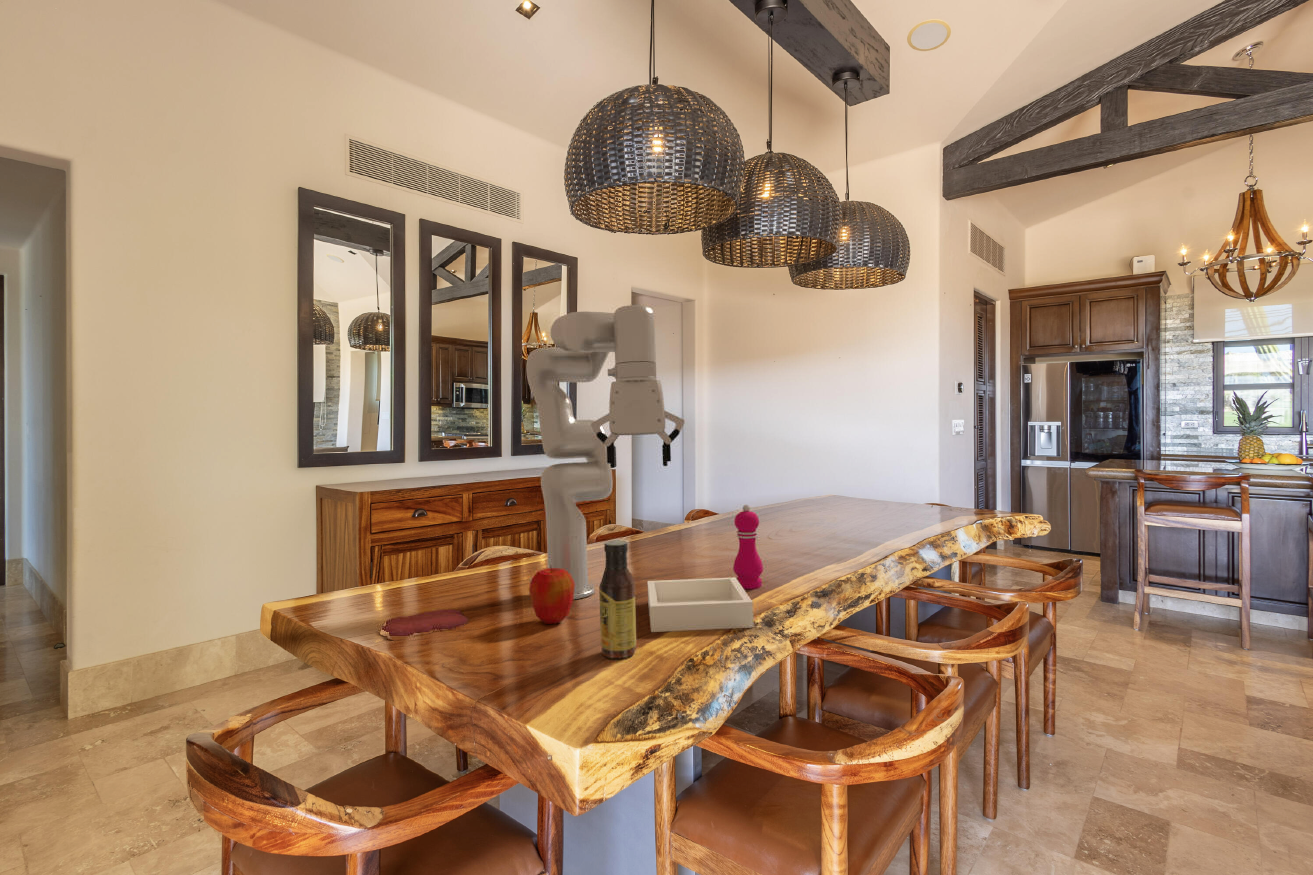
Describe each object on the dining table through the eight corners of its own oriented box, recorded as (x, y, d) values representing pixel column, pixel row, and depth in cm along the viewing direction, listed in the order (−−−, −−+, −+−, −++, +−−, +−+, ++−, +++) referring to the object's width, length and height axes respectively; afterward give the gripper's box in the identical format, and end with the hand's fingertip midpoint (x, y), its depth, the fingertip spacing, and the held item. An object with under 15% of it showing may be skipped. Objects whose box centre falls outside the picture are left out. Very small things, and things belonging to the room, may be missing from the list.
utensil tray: (651, 632, 120) (650, 606, 120) (648, 603, 140) (647, 581, 140) (753, 627, 121) (752, 601, 121) (736, 599, 141) (735, 577, 141)
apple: (537, 632, 122) (535, 571, 122) (525, 620, 130) (523, 563, 130) (582, 624, 127) (580, 565, 126) (567, 613, 135) (565, 558, 134)
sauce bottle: (601, 648, 112) (597, 539, 112) (635, 646, 113) (632, 537, 112) (601, 662, 106) (597, 546, 105) (637, 660, 106) (634, 544, 106)
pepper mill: (762, 582, 156) (760, 502, 155) (764, 589, 148) (762, 506, 148) (733, 582, 156) (731, 503, 156) (734, 589, 149) (731, 507, 149)
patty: (385, 645, 119) (385, 635, 119) (373, 627, 130) (373, 618, 130) (476, 627, 128) (475, 617, 128) (457, 611, 140) (457, 603, 140)
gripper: (586, 374, 111) (589, 469, 111) (682, 370, 110) (685, 466, 110) (592, 377, 119) (596, 467, 119) (683, 374, 118) (686, 464, 118)
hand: (639, 466), depth 115 cm, fingers open, 9 cm apart
